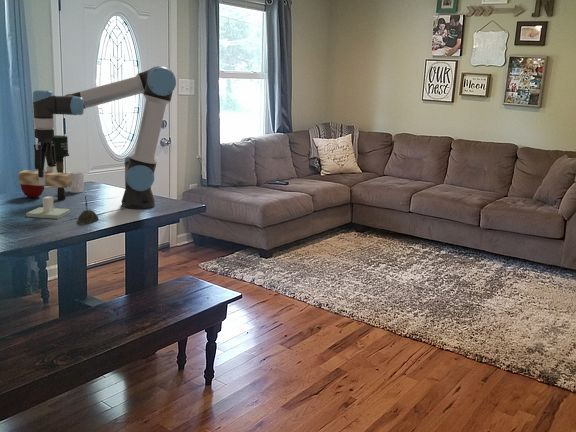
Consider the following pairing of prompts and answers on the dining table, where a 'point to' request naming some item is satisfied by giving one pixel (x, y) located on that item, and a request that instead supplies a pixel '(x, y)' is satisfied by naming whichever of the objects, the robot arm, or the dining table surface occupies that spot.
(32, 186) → the apple
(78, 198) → the dining table surface
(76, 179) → the white cup
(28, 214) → the fulcrum
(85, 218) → the sword in stone
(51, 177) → the beam
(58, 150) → the stick grenade
